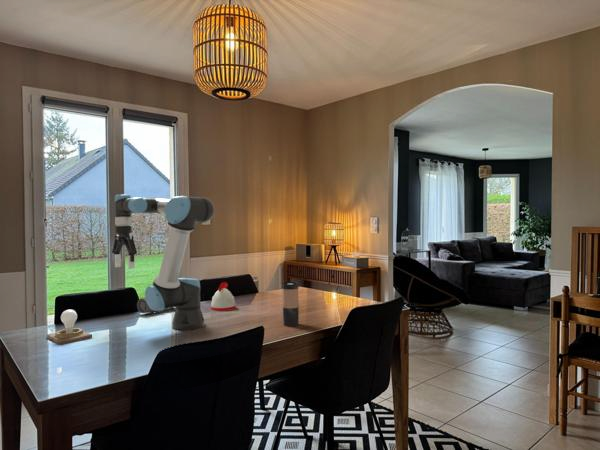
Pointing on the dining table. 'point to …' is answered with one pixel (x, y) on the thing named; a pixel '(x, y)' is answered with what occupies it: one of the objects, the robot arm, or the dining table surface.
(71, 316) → the lightbulb
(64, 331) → the socket
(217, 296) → the white dome
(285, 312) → the travel mug
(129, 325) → the dining table surface
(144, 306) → the bluetooth speaker
